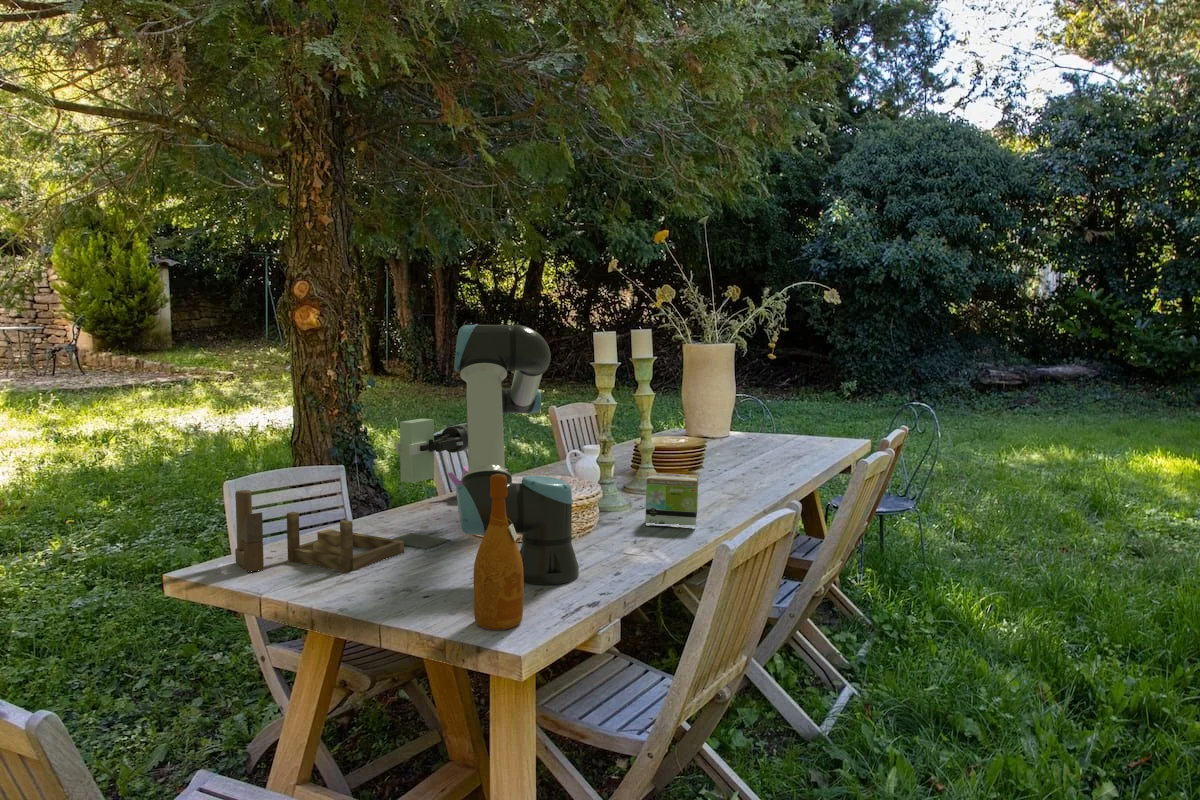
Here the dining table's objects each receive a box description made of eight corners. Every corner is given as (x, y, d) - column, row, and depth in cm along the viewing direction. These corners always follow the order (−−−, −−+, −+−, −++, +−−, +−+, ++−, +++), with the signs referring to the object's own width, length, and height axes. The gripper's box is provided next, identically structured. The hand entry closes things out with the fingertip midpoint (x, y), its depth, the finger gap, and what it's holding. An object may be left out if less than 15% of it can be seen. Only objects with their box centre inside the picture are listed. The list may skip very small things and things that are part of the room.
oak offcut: (350, 552, 203) (350, 542, 203) (342, 556, 199) (342, 546, 199) (321, 550, 205) (321, 540, 204) (313, 554, 201) (313, 543, 201)
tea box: (644, 527, 240) (645, 477, 239) (648, 519, 250) (649, 471, 249) (696, 529, 238) (697, 479, 237) (697, 521, 248) (698, 473, 247)
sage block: (434, 477, 224) (433, 419, 222) (412, 483, 216) (411, 422, 214) (422, 476, 225) (422, 418, 224) (400, 481, 218) (399, 421, 216)
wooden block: (248, 573, 193) (246, 498, 191) (235, 562, 201) (232, 490, 199) (264, 570, 195) (262, 496, 193) (250, 560, 203) (248, 489, 202)
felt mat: (450, 540, 223) (450, 539, 223) (426, 549, 214) (426, 548, 214) (410, 534, 230) (410, 532, 230) (385, 542, 221) (385, 540, 221)
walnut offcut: (347, 543, 201) (347, 533, 201) (335, 546, 198) (335, 536, 198) (329, 539, 205) (329, 529, 205) (317, 542, 202) (317, 532, 202)
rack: (404, 552, 211) (403, 507, 210) (347, 572, 194) (346, 523, 193) (347, 542, 220) (346, 498, 219) (287, 560, 203) (286, 513, 202)
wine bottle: (496, 636, 155) (496, 481, 153) (463, 623, 162) (462, 474, 159) (533, 622, 163) (534, 474, 160) (500, 610, 169) (500, 467, 167)
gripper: (483, 453, 232) (429, 466, 211) (435, 448, 240) (379, 460, 219) (483, 427, 231) (428, 437, 211) (435, 423, 239) (378, 432, 219)
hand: (403, 449), depth 215 cm, fingers closed on sage block, 4 cm apart
